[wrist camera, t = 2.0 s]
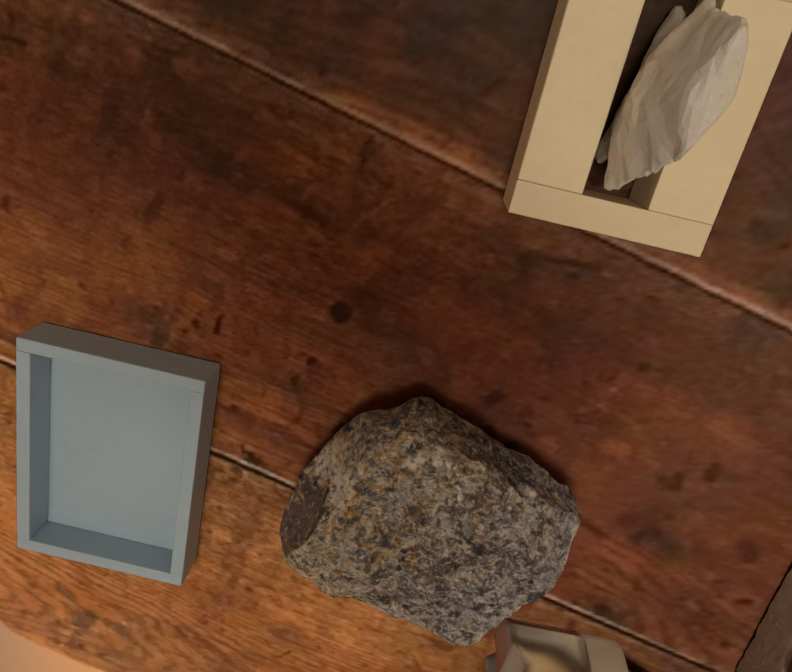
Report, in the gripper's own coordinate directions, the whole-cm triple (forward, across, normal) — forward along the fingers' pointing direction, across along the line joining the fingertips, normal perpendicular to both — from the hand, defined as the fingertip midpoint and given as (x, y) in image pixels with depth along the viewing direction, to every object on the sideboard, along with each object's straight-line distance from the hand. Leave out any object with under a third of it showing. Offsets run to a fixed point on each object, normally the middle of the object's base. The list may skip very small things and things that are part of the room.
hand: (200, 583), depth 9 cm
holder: (+27, -11, -6) cm, 29 cm away
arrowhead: (+27, -11, -6) cm, 30 cm away
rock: (+25, -6, +18) cm, 31 cm away
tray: (+25, +13, +20) cm, 34 cm away
